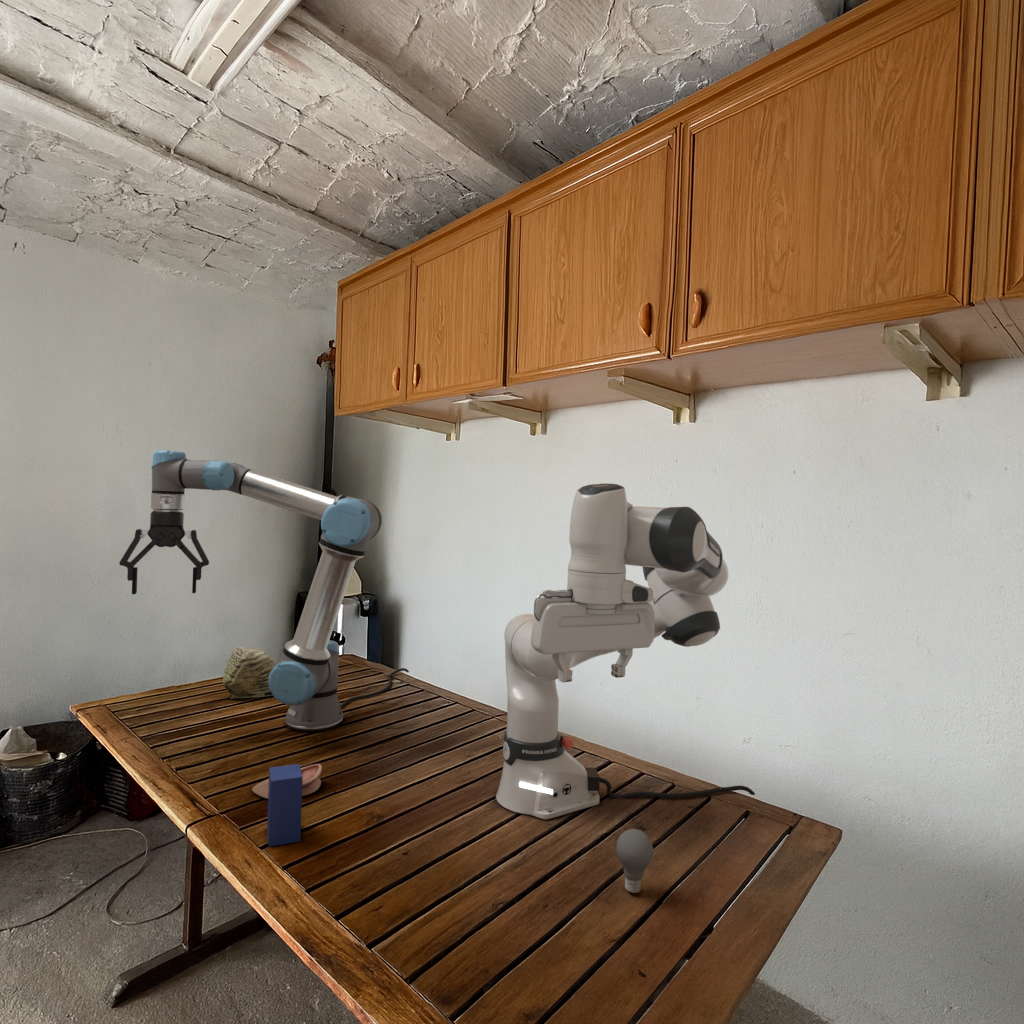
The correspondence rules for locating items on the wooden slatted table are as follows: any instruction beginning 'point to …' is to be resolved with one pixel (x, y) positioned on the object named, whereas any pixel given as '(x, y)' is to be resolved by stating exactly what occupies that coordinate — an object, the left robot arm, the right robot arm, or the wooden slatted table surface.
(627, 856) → the light bulb
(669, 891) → the wooden slatted table surface
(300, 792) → the block
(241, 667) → the fossil
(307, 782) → the anatomical model
